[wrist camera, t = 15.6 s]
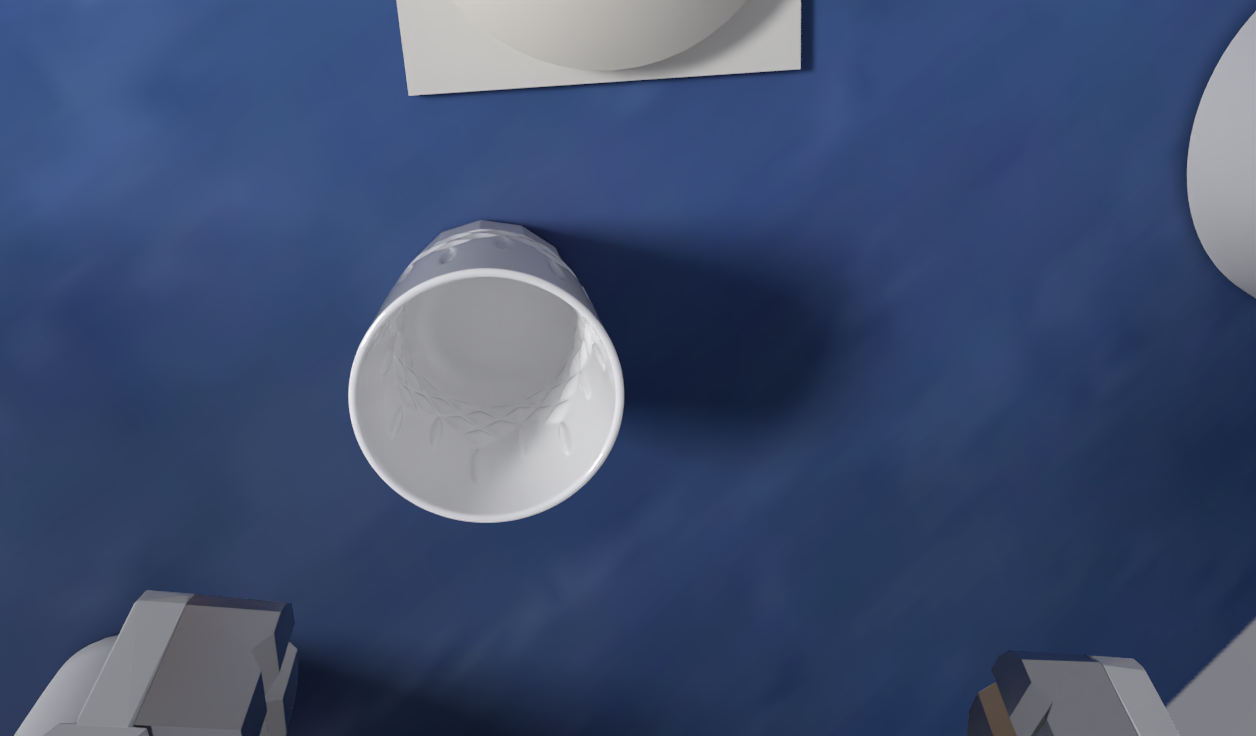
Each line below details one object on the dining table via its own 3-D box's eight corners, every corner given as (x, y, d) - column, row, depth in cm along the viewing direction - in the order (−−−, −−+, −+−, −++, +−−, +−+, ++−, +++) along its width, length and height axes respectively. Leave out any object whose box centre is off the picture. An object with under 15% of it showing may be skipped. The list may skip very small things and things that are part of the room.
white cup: (557, 176, 36) (578, 232, 27) (617, 365, 39) (656, 476, 30) (353, 241, 36) (303, 320, 27) (429, 427, 39) (408, 557, 29)
